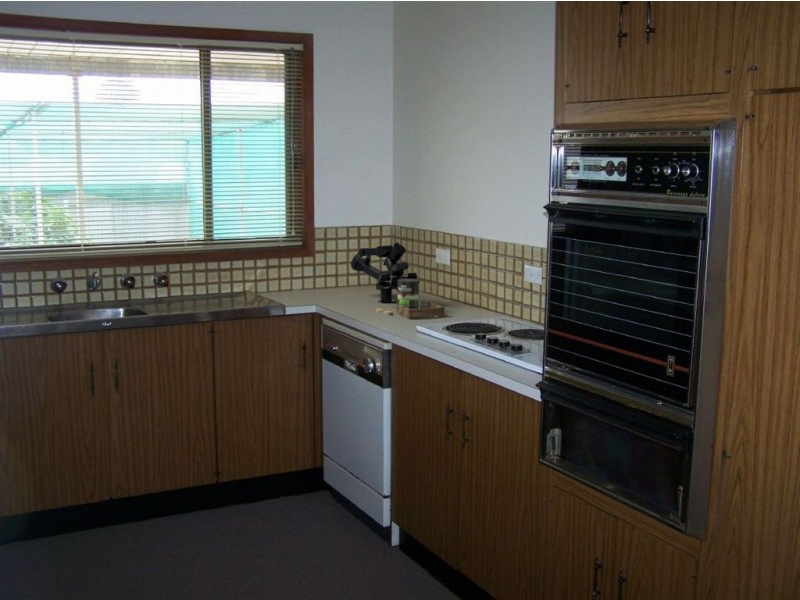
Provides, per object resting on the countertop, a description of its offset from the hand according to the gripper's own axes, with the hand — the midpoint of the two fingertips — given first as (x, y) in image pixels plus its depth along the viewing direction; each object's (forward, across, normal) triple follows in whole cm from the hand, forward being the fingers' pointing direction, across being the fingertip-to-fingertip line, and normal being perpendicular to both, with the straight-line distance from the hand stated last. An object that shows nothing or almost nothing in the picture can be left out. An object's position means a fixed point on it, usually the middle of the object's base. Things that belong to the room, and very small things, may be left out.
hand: (401, 293), depth 424 cm
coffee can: (+11, 0, -1) cm, 11 cm away
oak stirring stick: (+12, -13, -2) cm, 17 cm away
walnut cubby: (+19, 0, -10) cm, 22 cm away
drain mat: (+9, +11, 0) cm, 14 cm away
